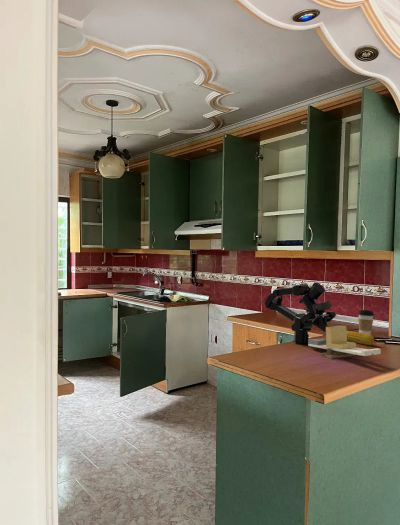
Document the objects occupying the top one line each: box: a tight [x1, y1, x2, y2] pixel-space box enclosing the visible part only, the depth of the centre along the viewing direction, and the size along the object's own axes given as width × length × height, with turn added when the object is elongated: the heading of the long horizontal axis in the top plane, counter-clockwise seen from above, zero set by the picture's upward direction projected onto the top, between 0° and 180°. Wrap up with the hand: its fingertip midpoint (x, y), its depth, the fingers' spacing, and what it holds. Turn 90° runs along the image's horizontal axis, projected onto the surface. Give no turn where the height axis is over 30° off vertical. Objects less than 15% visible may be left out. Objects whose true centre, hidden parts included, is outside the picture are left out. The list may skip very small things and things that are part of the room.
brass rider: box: [325, 325, 357, 349], centre depth 173 cm, size 8×10×10 cm
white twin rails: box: [307, 337, 382, 357], centre depth 173 cm, size 32×10×3 cm, turn 28°
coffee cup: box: [357, 309, 375, 336], centre depth 219 cm, size 8×8×15 cm
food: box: [347, 330, 375, 346], centre depth 204 cm, size 21×6×6 cm, turn 36°
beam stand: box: [320, 348, 356, 360], centre depth 174 cm, size 6×16×4 cm, turn 118°
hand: (327, 332), depth 181 cm, fingers closed
